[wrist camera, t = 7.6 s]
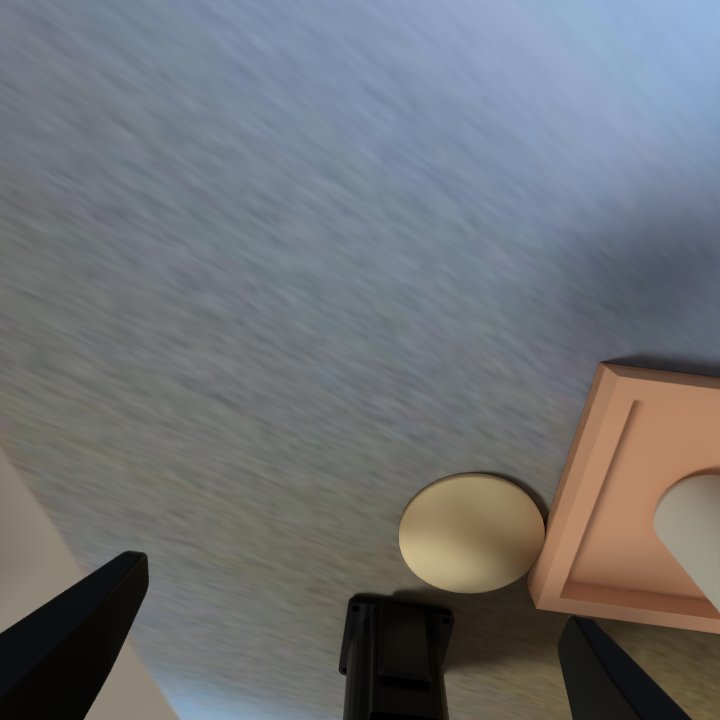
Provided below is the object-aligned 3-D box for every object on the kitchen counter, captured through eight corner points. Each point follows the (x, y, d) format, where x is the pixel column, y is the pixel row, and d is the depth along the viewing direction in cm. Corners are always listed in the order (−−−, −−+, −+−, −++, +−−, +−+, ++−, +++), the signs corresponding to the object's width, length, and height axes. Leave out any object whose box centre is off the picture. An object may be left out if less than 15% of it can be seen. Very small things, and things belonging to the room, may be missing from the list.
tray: (762, 613, 25) (789, 643, 23) (526, 581, 25) (536, 608, 24) (892, 400, 20) (938, 417, 19) (599, 362, 20) (619, 376, 19)
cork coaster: (521, 594, 26) (524, 601, 25) (389, 576, 26) (389, 583, 25) (559, 483, 23) (562, 489, 22) (410, 463, 23) (411, 469, 22)
